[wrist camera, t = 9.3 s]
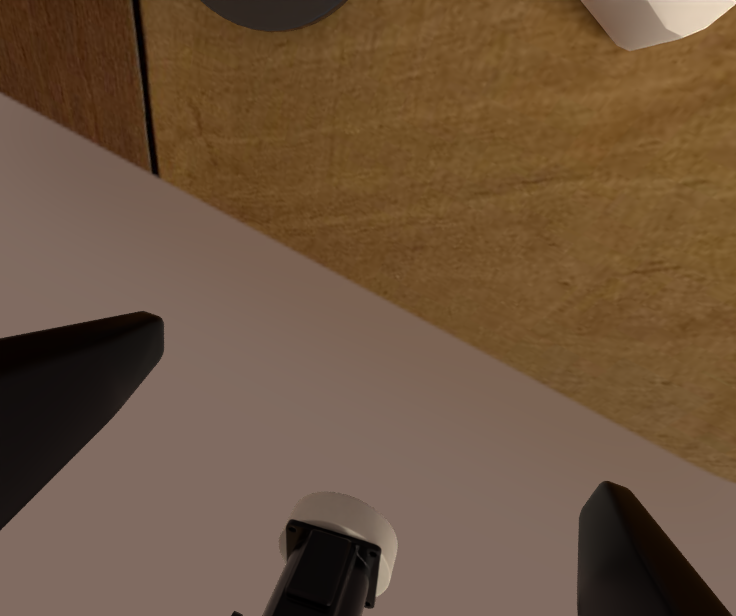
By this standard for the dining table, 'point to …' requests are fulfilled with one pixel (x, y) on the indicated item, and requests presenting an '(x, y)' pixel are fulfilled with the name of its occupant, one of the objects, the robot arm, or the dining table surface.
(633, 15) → the salt shaker
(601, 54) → the dining table surface
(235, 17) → the coaster
